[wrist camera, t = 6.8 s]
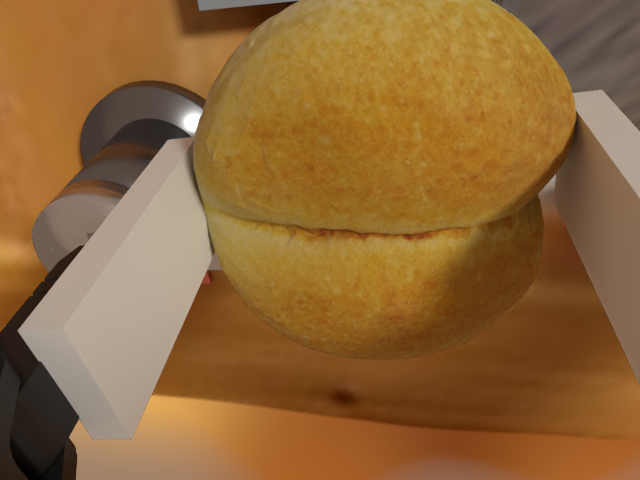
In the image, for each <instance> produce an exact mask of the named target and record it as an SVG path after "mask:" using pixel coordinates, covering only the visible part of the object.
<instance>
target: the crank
mask: <svg viewBox="0 0 640 480" xmlns="http://www.w3.org/2000/svg"><path fill="white" fill-rule="evenodd" d="M129 189H130V188H128V187H126V186H124V185H121V184H118V183H115V182H111V181H106V180H83V181H79V182H75V183H73V184H71V185H69V186H67V187H66V188H64V189H63V190H62V191H61V192H60V193H59V194H58V195H57V196H56V197H55V198H54V199H53V200H52V201H51V202H50V203H49V205H48V206H47V207H46V208H45V209H44V210H43V211H42V212H41V213H40V214H39V216H38V217H37V218H36V221H35V223H34V226H33V230H32V239H33V245H34V248H35V251H36V253H37V255H38V257H39V259H40V261H41V262H42V264H43V265H44V266H45V268H46V269H47V270H48V271H49V272H50V271H51V270H52V269H53V268H54V266H55V265H56V264H57V263H58V261H60V260H61V259H62V258H64V257H65V256H66V255H68V254H69V253H70V252H72V251H73V250H74V249H76V248H77V247H78V246H81V245H85V244H86V243H87V242H88V241H89V239H90V238H91V237H92V236H93V234H94V233H95V232H96V230H97V229H98V228H99V227H100V225H101V224H102V223H103V222H104V220H105V219H106V218H107V217H108V215H109V214H110V213H111V211H112V210H113V209H114V208H115V206H116V205H117V204H118V203H119V201H120V200H121V199H122V198H123V196H124V195H125V194H126V192H127V191H128V190H129ZM207 270H222V268H221V266H220V263H219V259H218V257H217V254H216V252H215V253H214V256H213V258H212V260H211V262H210V265H209V267H208V269H207Z"/></svg>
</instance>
